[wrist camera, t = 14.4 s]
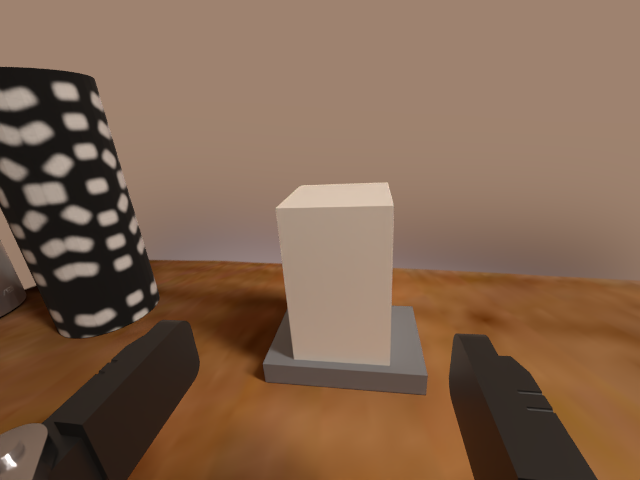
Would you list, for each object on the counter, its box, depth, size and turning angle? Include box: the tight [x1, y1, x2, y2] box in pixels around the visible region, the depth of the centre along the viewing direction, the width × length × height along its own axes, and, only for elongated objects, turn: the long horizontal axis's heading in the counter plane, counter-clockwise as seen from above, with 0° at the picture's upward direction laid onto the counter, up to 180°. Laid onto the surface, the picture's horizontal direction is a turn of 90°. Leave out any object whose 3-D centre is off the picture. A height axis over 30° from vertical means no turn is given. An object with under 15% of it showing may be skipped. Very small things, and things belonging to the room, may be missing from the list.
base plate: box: [263, 306, 428, 395], centre depth 21 cm, size 10×7×6 cm
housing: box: [276, 183, 394, 366], centre depth 20 cm, size 6×6×10 cm
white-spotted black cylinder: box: [0, 67, 159, 338], centre depth 25 cm, size 8×8×20 cm
